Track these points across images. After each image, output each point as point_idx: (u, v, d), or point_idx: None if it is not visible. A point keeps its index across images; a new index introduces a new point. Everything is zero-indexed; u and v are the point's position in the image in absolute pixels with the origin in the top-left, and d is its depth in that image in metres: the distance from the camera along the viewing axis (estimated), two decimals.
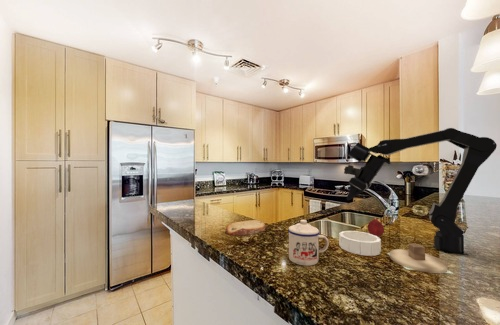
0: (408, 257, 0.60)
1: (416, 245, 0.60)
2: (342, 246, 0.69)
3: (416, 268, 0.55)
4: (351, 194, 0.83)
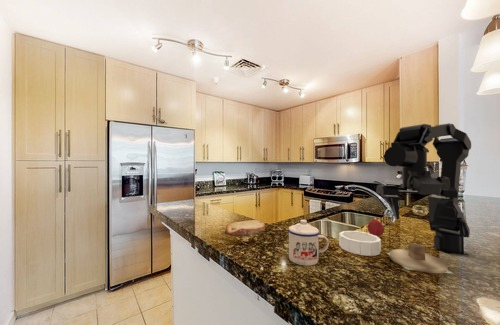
0: (408, 257, 0.60)
1: (416, 245, 0.60)
2: (342, 246, 0.69)
3: (416, 268, 0.55)
4: None
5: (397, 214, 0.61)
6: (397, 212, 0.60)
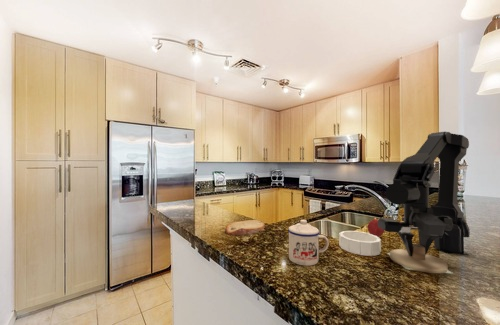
0: (408, 257, 0.60)
1: (416, 245, 0.60)
2: (342, 246, 0.69)
3: (416, 268, 0.55)
4: None
5: (411, 251, 0.59)
6: (411, 249, 0.59)
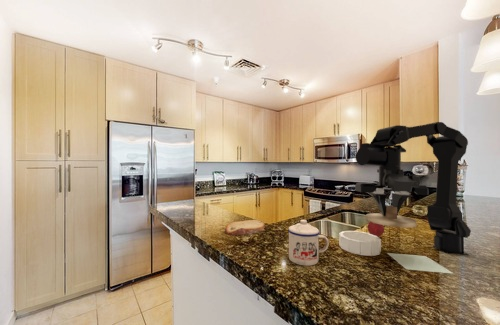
0: (382, 217, 0.64)
1: (389, 206, 0.64)
2: (342, 246, 0.69)
3: (387, 224, 0.59)
4: None
5: (384, 211, 0.64)
6: (384, 209, 0.64)
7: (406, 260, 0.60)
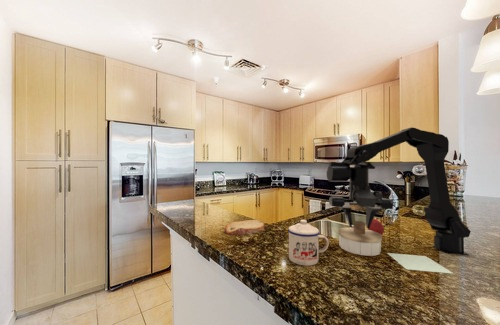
0: (352, 232, 0.70)
1: (359, 222, 0.70)
2: (342, 246, 0.69)
3: (354, 239, 0.65)
4: None
5: (350, 223, 0.70)
6: (350, 221, 0.70)
7: (406, 260, 0.60)
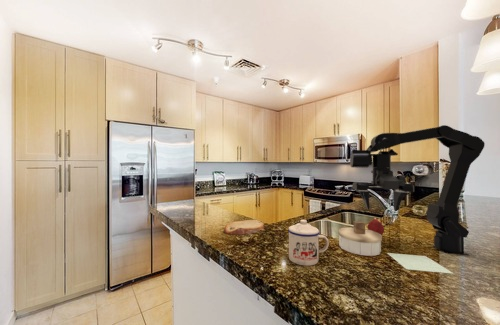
0: (352, 232, 0.70)
1: (359, 222, 0.70)
2: (342, 246, 0.69)
3: (354, 239, 0.65)
4: None
5: (368, 205, 0.75)
6: (368, 204, 0.75)
7: (406, 260, 0.60)
